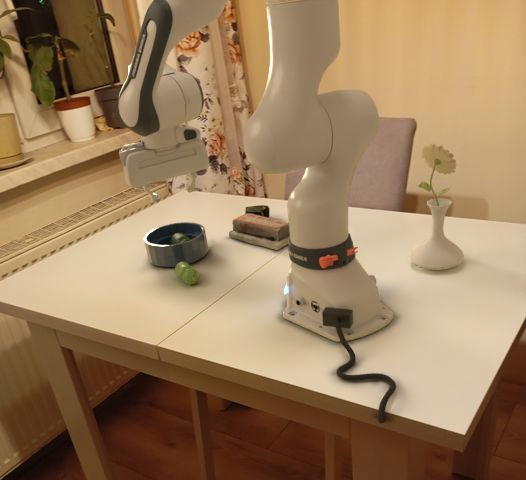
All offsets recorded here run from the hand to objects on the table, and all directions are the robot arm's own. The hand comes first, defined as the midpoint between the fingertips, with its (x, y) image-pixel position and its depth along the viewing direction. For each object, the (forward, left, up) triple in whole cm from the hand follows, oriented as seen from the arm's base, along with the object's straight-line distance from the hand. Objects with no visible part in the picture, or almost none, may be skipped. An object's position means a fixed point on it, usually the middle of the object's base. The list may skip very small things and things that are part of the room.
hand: (173, 196), depth 136 cm
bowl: (+1, +1, -15) cm, 15 cm away
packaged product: (-5, -21, -15) cm, 26 cm away
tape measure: (+8, -26, -16) cm, 31 cm away
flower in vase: (-45, -41, -16) cm, 63 cm away
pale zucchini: (-14, +5, -15) cm, 21 cm away
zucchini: (+1, 0, -15) cm, 15 cm away
